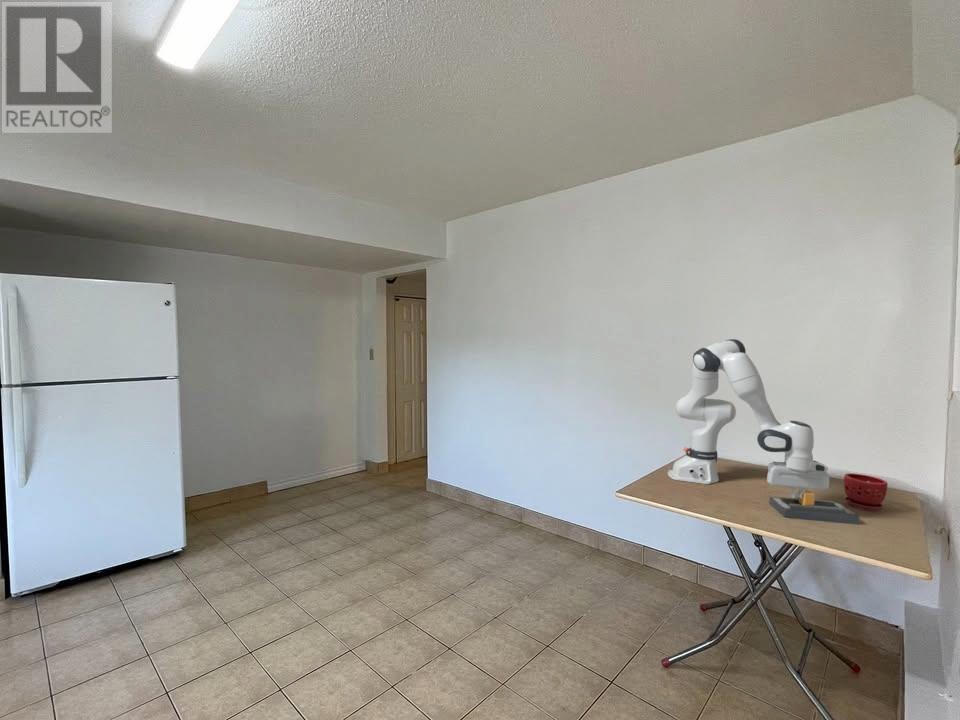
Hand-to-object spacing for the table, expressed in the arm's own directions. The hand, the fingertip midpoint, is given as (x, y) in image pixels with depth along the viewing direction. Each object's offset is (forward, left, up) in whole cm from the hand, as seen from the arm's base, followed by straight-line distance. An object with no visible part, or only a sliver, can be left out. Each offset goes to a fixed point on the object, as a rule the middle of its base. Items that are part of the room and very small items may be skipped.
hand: (796, 498), depth 169 cm
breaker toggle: (+3, 0, -2) cm, 4 cm away
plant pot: (+31, +14, -6) cm, 34 cm away
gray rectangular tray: (+6, 0, -6) cm, 8 cm away
